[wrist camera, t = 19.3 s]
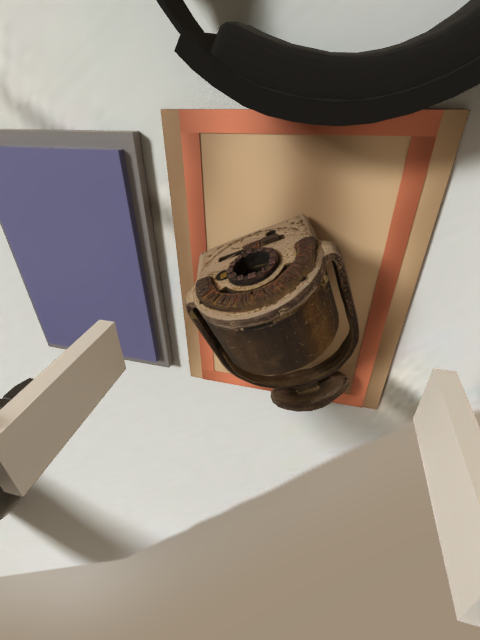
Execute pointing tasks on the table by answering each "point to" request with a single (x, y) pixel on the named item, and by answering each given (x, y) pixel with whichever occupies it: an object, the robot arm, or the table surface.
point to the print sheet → (315, 212)
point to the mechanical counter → (276, 312)
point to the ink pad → (84, 236)
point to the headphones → (332, 70)
